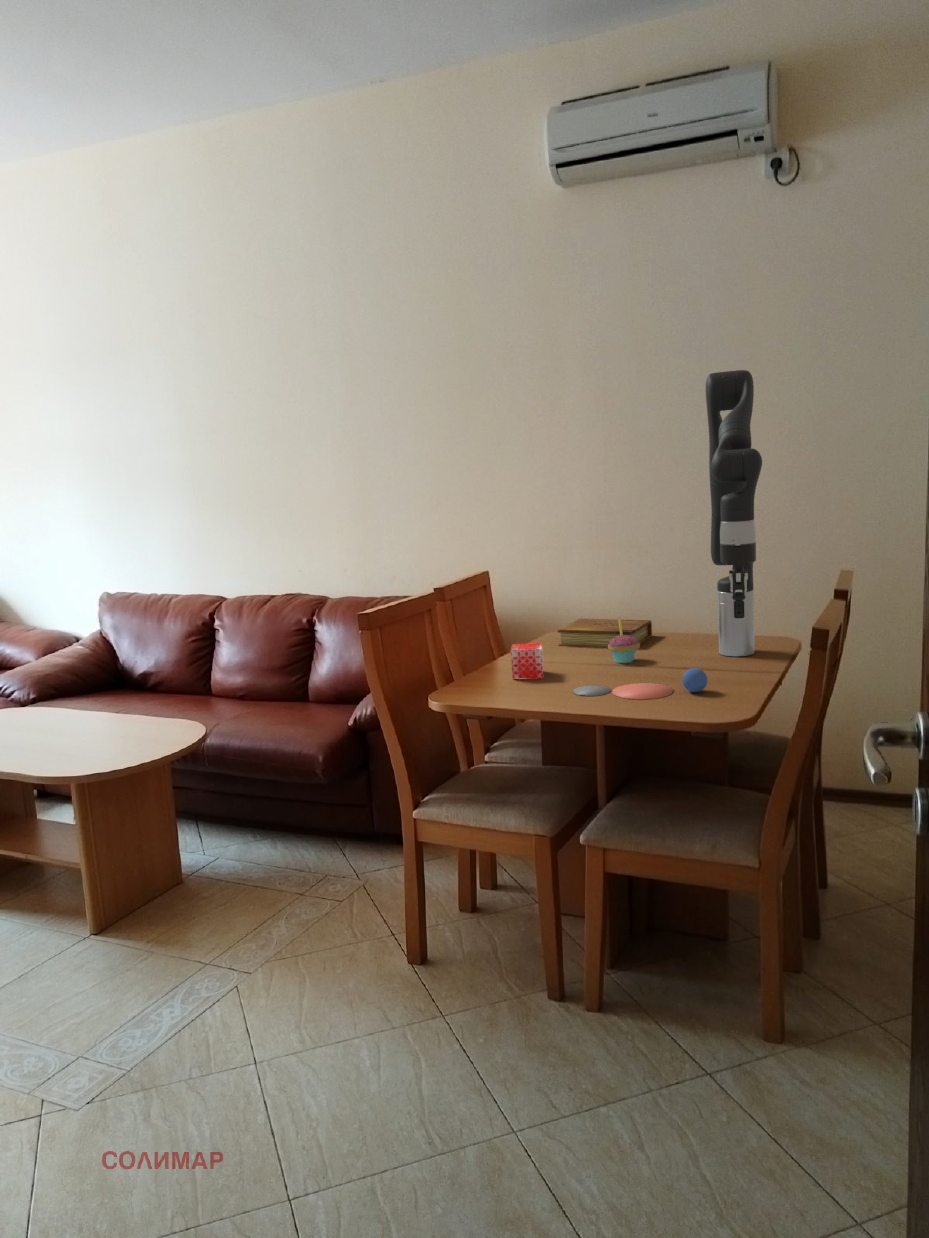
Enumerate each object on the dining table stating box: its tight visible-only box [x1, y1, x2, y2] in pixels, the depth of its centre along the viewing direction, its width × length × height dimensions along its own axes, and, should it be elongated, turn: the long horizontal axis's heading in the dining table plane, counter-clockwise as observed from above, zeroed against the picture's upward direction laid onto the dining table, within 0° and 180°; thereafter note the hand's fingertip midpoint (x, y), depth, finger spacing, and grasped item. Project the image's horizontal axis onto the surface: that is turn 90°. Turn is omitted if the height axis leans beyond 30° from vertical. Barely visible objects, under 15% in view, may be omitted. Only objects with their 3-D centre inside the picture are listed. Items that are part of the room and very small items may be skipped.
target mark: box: [611, 682, 674, 701], centre depth 205 cm, size 14×14×1 cm
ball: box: [681, 667, 708, 693], centre depth 201 cm, size 6×6×6 cm
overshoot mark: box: [572, 685, 612, 697], centre depth 209 cm, size 9×9×1 cm
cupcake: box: [607, 616, 641, 664], centre depth 236 cm, size 9×8×12 cm
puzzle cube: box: [510, 642, 545, 679], centre depth 228 cm, size 8×8×8 cm
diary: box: [557, 618, 653, 649], centre depth 264 cm, size 23×19×6 cm
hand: (739, 614), depth 195 cm, fingers open, 7 cm apart
